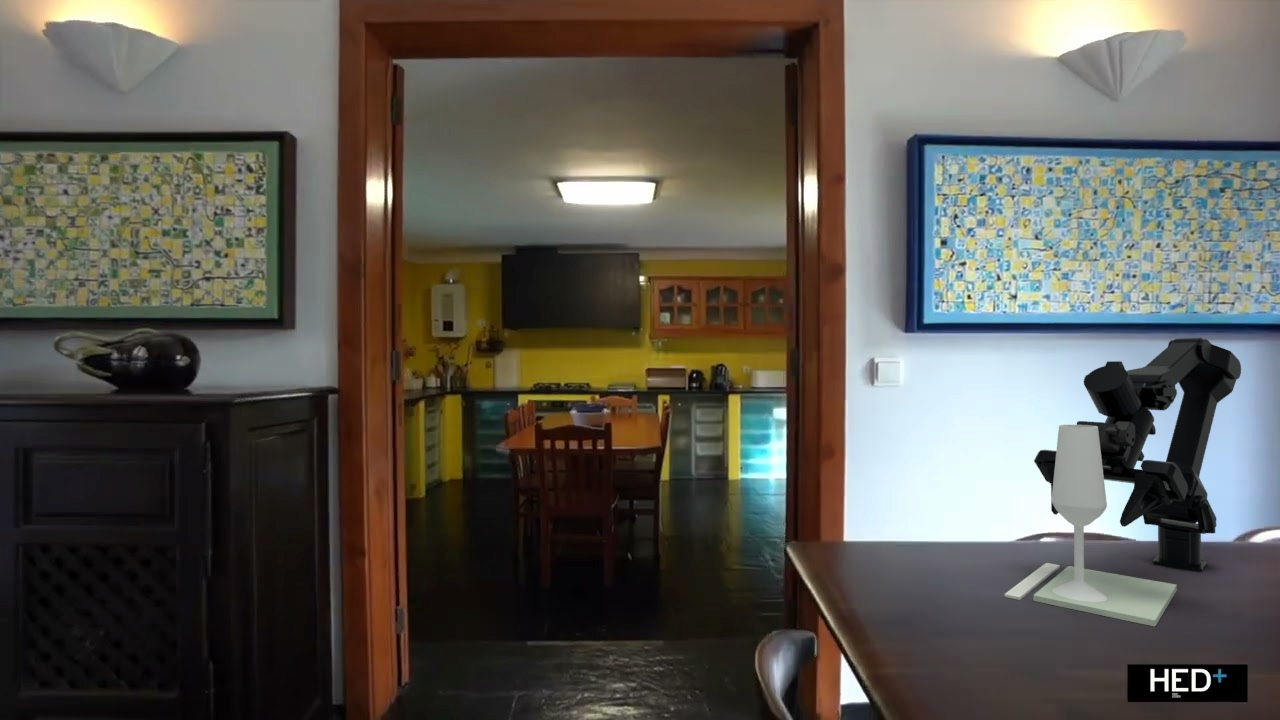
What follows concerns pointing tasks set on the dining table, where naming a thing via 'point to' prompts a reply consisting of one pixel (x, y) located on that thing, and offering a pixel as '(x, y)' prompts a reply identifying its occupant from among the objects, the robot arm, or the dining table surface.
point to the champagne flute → (1079, 497)
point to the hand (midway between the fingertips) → (1086, 518)
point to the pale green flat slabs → (1123, 593)
